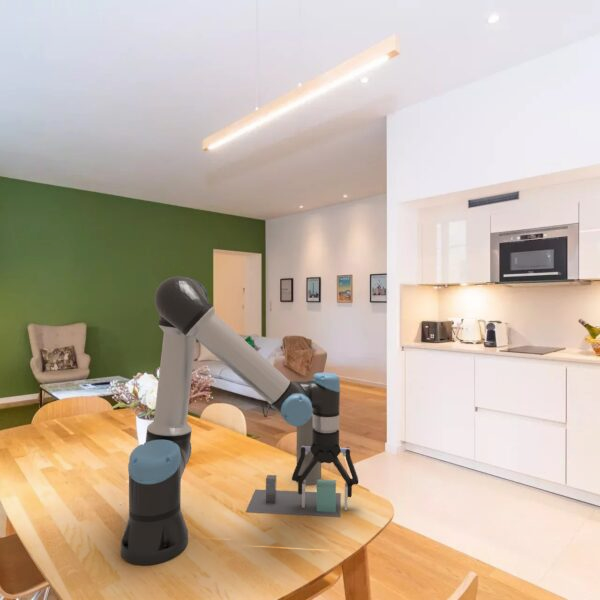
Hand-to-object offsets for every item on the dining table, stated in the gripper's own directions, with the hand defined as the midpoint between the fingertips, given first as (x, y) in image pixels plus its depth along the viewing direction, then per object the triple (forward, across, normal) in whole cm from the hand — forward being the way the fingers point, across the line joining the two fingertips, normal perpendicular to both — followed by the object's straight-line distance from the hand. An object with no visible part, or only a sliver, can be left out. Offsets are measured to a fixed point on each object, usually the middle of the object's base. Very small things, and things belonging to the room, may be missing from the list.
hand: (324, 506), depth 121 cm
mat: (+1, +8, -2) cm, 9 cm away
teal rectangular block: (0, 0, 0) cm, 1 cm away
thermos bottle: (+1, +6, -17) cm, 18 cm away
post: (0, +16, -2) cm, 16 cm away
